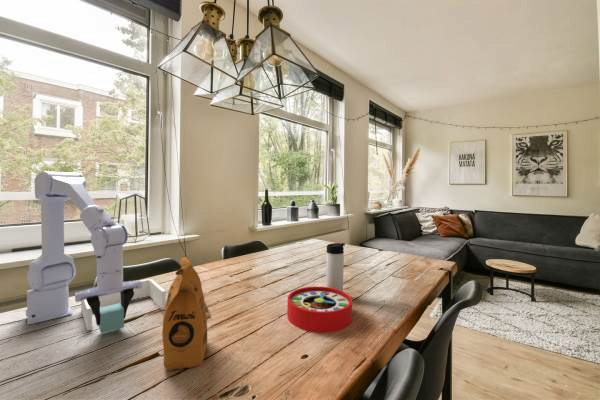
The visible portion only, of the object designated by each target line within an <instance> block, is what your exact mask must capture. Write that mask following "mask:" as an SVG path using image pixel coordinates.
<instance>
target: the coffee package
mask: <svg viewBox="0 0 600 400" xmlns="http://www.w3.org/2000/svg"><path fill="white" fill-rule="evenodd" d="M179 265H180V268H179V269H178V270H177V271H175V276H176V277H174V279H173V281H172V283H171V285H170V286H169V290H168V293H167V296H166V305H165V309H164V311H163V318H162V330H161V331H162V332H161V333H162V334H161V335H162V347H163V366H164V368H165V369H166V371H172V370H182V369H185V368H188V369H189V368H190V369H192V368H194V367H198V366H201V365H202V364H203V361H204V358H205V351H206V349H207V347H208V321H207V318H206V308H205V303H206V301H205V296H204V293H203V287H202V282H201V278H200V276H199V273H198V272H197V271H196V269H195V268H194V267H193V265H192V264H191V261H190V260H189V259H188V258H187V257H186V256H185V257H183V258H181V259H180V261H179Z"/></svg>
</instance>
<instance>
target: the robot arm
mask: <svg viewBox="0 0 600 400" xmlns="http://www.w3.org/2000/svg"><path fill="white" fill-rule="evenodd" d="M86 188H87V180H86V179H85V177H84V175H83V174H82V173H81V172H67V171H66V172H65V171H47V170H41V171H40V172H39V173H37V175H35V177H34V195H35V196H34V197H35V199H37V200H40V215H41V216H40V217H41V221H40V222H41V223H40V224H41V228H40V229H41V255H39V256H38V257H37V258H36V259H34V260H32V261H31V262H30V263H29V264H28V265H29V266H28V272H27V275H26V281H27V284H28V286H29V287H30V288H31V289H29V290H27V291H26V307H27V308H26V310H25V316H26V317H27V325H28V326H29V325H32V324H36V323H42V322H46V321H50V320H54V319H55V320H56V319H58V318H62V317H66V316H70V315H72V310H71V306H70V303H69V300H70V299H69V298H70V297H69V296H70V295H69V284H71V283H72V280H74V278H75V277H76V274H77V269H76V266H75V263H74V262H75V261H74V258H73V257H72V256H71V255H69V254H67V253H65V226H64V225H65V220H64V218H65V212H64V211H65V210H64V205H65V202H66V201H68V199H69V201H71V202H72V203H73V204H74V206H75V207H77V209H78V210H79V211H80V214H79V219H80V220H81V222H83V224H84V226H85V227H86V228H87V230H88V231H89V233H90V234H91V236H90V243H91V246H92V247H93V253H94V256H96V286H95V287H91V288H88V289H85V290H80V291H76V292H75V293H74V299H75V303H79V302H81V300H85V299H86V300H87V303H88V305H89V306H90V308H91V309H92V314H94V317H95V318H94V319H95V323H96V326H97V327H98V325H100V301H99V296H104V295H109V294H113V293H118V292H120V294H121V303H120V304H121V305H122V307H123V308H124V319H126V315H127V311H128V308H129V305H130V303H131V301H132V300H131V299H132V297H133V296H134V291H133V289H140V288H142V281H141V280H140V279H138V280H129V281H124V256H123V255H124V250H123V248H124V247H123V245H125V244H126V243H127V242H128V238H129V233H128V231H127V228H126V227H125V225H124V224H122V223H118V222H117V221H116V222H115V220H113V219H112V218H111V216H110V215H109V214H108V212H107V211H106V210H105V208H104V207H103V206H102V205H96V204H95V202H94V200H93V199H92V196H90V194H89V192H88V190H87V189H86Z"/></svg>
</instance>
